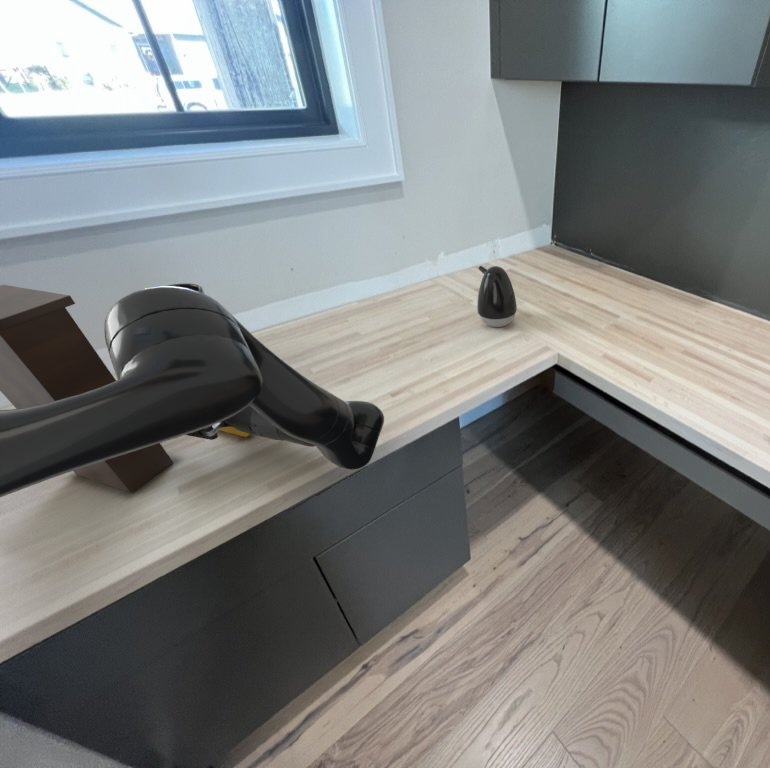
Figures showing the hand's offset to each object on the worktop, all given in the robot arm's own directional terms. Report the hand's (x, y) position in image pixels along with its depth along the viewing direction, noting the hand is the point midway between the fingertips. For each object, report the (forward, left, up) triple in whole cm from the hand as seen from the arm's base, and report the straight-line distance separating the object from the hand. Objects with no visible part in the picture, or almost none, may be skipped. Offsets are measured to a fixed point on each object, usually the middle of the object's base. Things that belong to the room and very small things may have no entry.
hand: (199, 398), depth 74 cm
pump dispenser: (+62, -21, -7) cm, 66 cm away
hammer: (-1, +3, -7) cm, 8 cm away
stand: (-14, +2, -7) cm, 15 cm away
